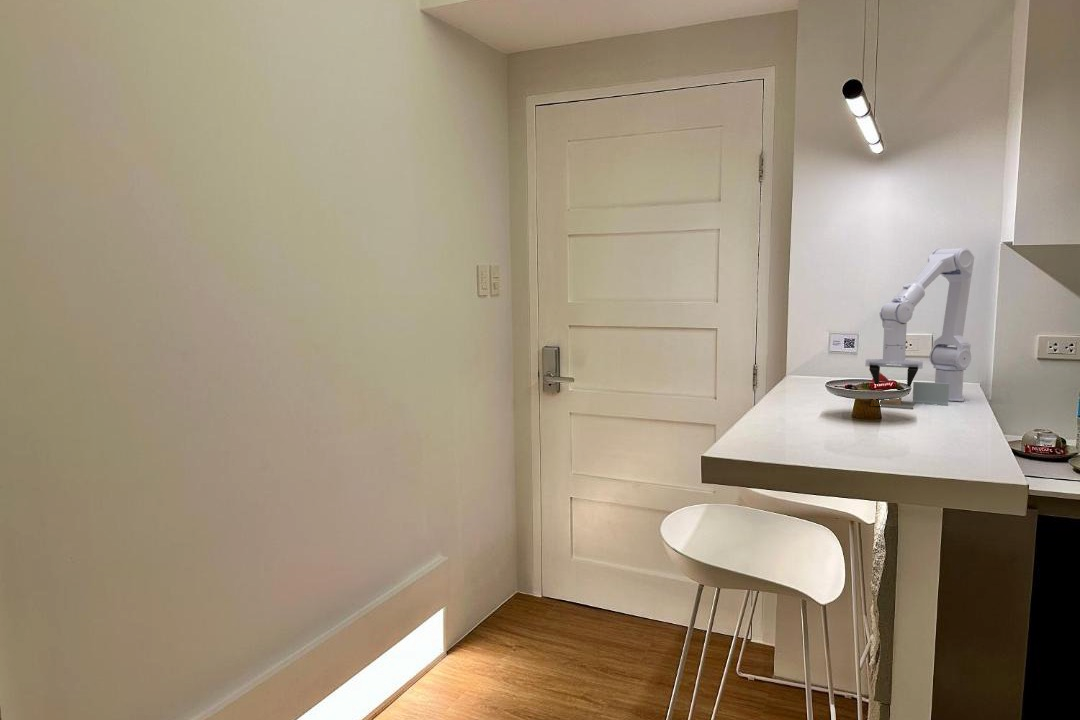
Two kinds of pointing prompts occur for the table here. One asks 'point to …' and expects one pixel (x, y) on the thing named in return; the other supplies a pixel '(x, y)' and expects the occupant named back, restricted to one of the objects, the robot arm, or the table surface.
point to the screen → (930, 393)
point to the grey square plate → (903, 405)
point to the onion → (881, 378)
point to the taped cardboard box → (893, 401)
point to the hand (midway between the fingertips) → (892, 392)
